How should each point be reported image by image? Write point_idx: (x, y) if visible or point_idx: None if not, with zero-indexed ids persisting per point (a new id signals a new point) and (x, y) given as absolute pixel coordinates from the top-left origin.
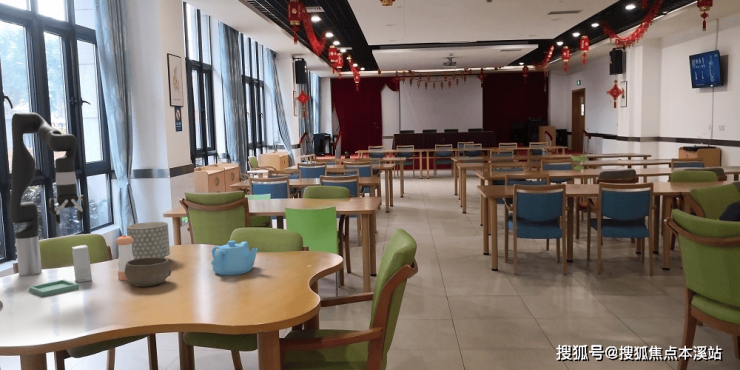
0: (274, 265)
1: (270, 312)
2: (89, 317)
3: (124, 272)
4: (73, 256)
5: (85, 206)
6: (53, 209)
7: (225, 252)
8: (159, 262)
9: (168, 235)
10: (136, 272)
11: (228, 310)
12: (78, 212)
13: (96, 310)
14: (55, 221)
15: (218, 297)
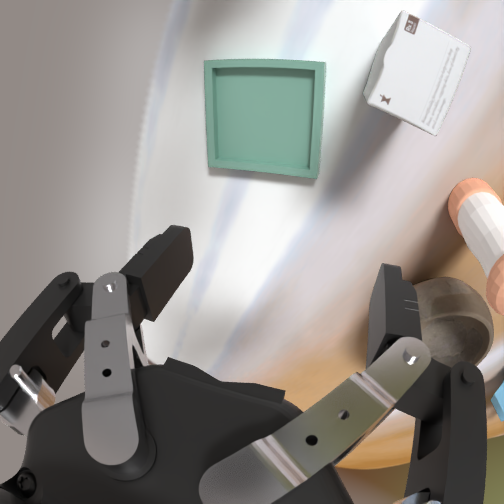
0: None
1: (347, 459)
2: (224, 356)
3: (457, 230)
4: (379, 59)
5: (431, 434)
6: (76, 348)
7: None
8: (486, 331)
9: None
10: None
11: None
12: (373, 351)
13: (247, 345)
14: (155, 240)
15: (380, 424)
